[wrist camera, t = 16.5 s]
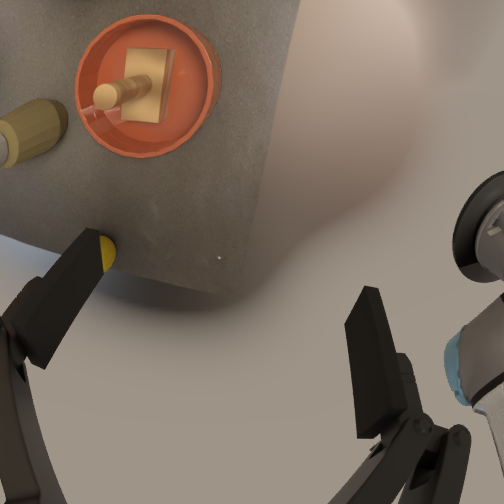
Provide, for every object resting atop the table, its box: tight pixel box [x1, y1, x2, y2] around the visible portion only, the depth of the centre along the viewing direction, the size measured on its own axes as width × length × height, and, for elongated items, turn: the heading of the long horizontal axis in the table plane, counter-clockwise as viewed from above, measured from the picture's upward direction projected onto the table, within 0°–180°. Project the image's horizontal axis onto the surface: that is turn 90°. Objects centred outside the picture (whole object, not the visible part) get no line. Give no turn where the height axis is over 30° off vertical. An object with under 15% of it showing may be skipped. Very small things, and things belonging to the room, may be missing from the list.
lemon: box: [100, 235, 116, 273], centre depth 46 cm, size 6×6×8 cm
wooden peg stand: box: [93, 48, 176, 123], centre depth 29 cm, size 9×5×12 cm, turn 169°
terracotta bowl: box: [75, 14, 222, 158], centre depth 32 cm, size 17×17×6 cm
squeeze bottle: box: [0, 98, 68, 169], centre depth 30 cm, size 8×8×18 cm
